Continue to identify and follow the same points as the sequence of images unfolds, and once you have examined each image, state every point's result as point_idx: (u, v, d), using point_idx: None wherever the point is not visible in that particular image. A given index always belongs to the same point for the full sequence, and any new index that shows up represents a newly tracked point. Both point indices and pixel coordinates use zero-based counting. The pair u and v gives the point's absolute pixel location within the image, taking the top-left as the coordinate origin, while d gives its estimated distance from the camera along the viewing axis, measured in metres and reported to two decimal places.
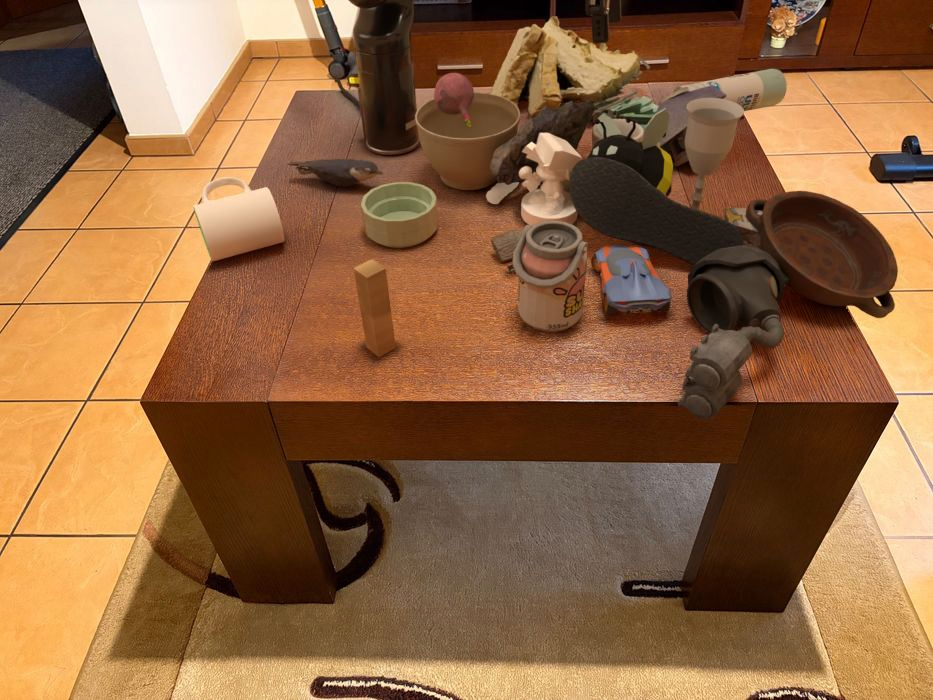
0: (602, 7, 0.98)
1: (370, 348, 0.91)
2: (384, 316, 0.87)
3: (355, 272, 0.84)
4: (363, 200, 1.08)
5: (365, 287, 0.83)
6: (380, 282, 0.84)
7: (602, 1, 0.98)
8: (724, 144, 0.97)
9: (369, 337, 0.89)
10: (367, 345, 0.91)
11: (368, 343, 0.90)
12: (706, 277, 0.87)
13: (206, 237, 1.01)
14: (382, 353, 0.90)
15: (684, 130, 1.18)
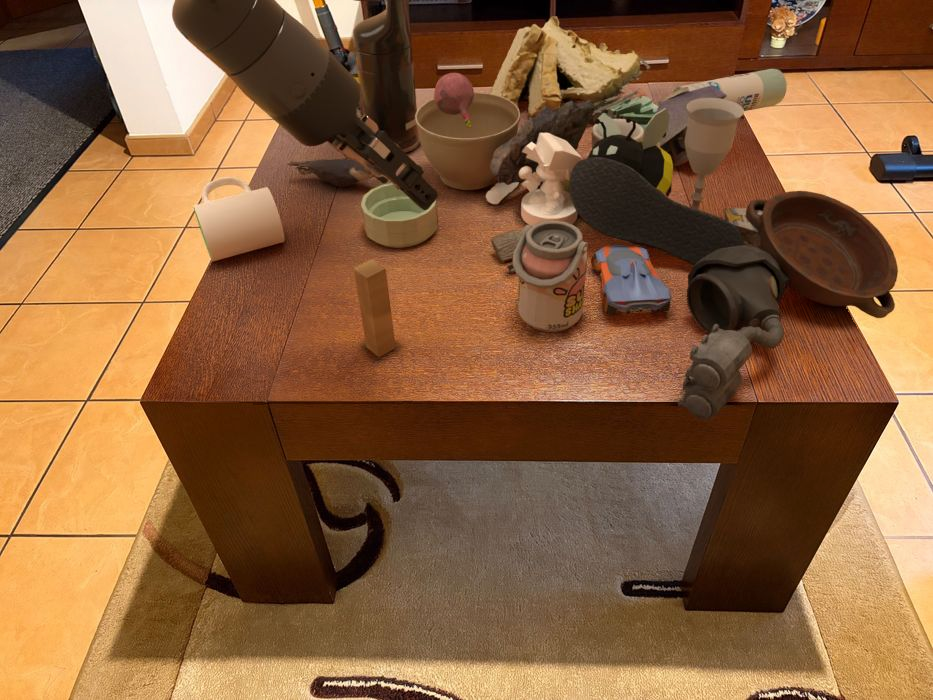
0: None
1: (370, 348, 0.91)
2: (384, 316, 0.87)
3: (355, 272, 0.84)
4: (363, 200, 1.08)
5: (365, 287, 0.83)
6: (380, 282, 0.84)
7: None
8: (724, 144, 0.97)
9: (369, 337, 0.89)
10: (367, 345, 0.91)
11: (368, 343, 0.90)
12: (706, 277, 0.87)
13: (206, 237, 1.01)
14: (382, 353, 0.90)
15: (684, 130, 1.18)
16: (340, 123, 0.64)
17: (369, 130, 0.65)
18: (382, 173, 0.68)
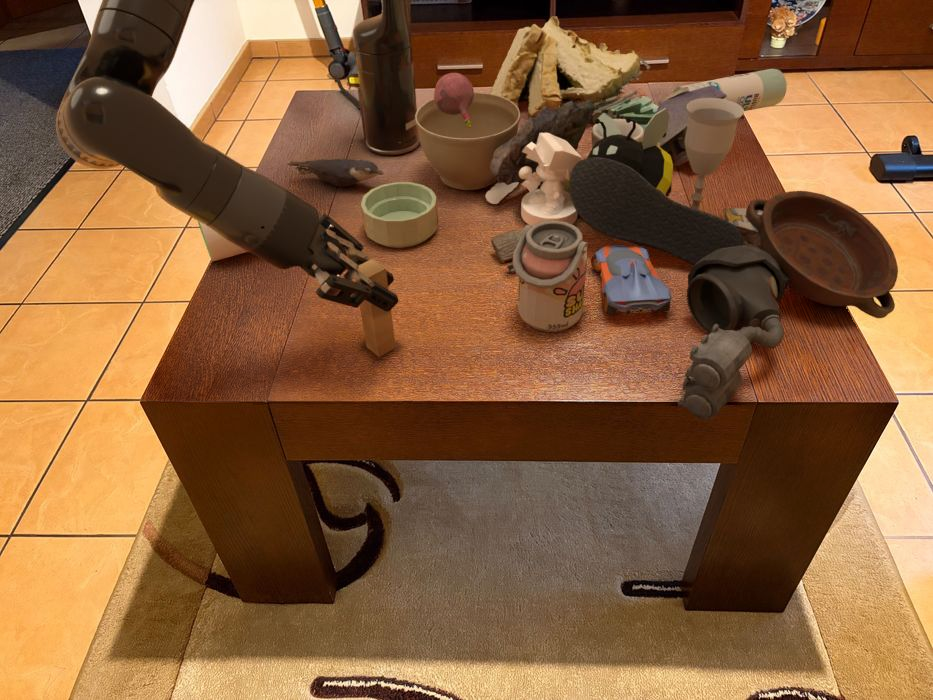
0: None
1: (370, 348, 0.91)
2: (385, 316, 0.87)
3: None
4: (363, 200, 1.08)
5: None
6: (380, 282, 0.84)
7: None
8: (724, 144, 0.97)
9: (370, 337, 0.89)
10: (367, 345, 0.91)
11: (368, 342, 0.90)
12: (706, 277, 0.87)
13: (206, 237, 1.01)
14: (382, 353, 0.90)
15: (684, 130, 1.18)
16: (293, 259, 0.76)
17: (320, 264, 0.77)
18: None
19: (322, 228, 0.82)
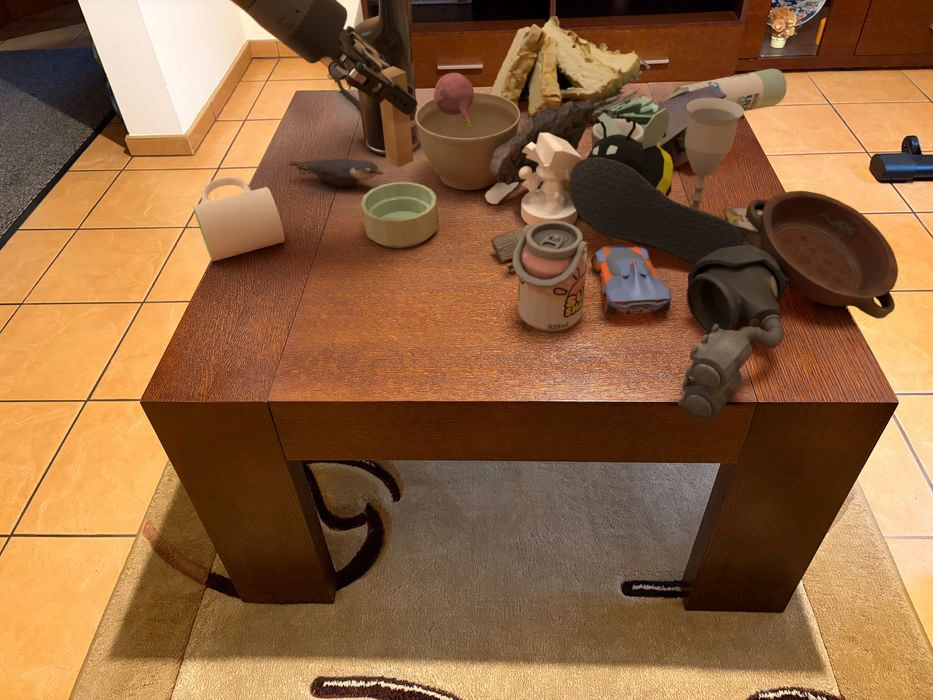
0: None
1: (390, 160, 0.98)
2: (404, 124, 0.95)
3: None
4: (363, 200, 1.08)
5: None
6: (400, 86, 0.92)
7: None
8: (724, 144, 0.97)
9: (390, 147, 0.97)
10: (387, 158, 0.99)
11: (389, 154, 0.98)
12: (706, 277, 0.87)
13: (206, 237, 1.01)
14: (401, 163, 0.98)
15: (684, 130, 1.18)
16: (323, 47, 0.84)
17: (348, 53, 0.85)
18: None
19: (348, 33, 0.90)
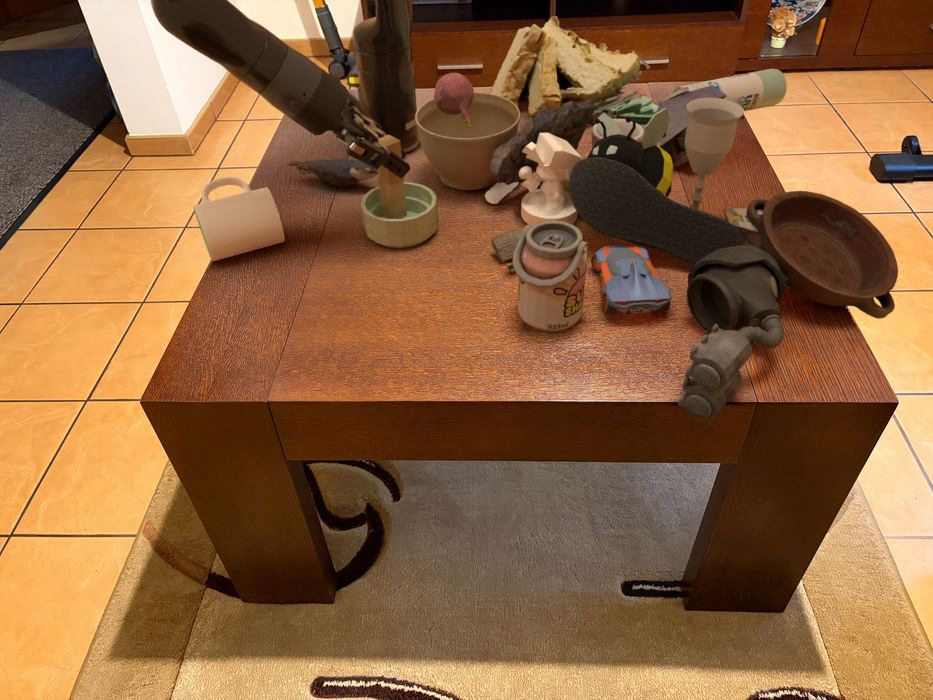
0: None
1: (386, 215, 1.10)
2: (398, 184, 1.06)
3: None
4: (363, 200, 1.08)
5: None
6: (395, 153, 1.03)
7: None
8: (724, 144, 0.97)
9: (386, 204, 1.08)
10: (383, 213, 1.10)
11: (385, 210, 1.09)
12: (706, 277, 0.87)
13: (206, 237, 1.01)
14: (396, 218, 1.09)
15: (684, 130, 1.18)
16: (327, 123, 0.95)
17: (349, 128, 0.96)
18: None
19: (348, 107, 1.01)
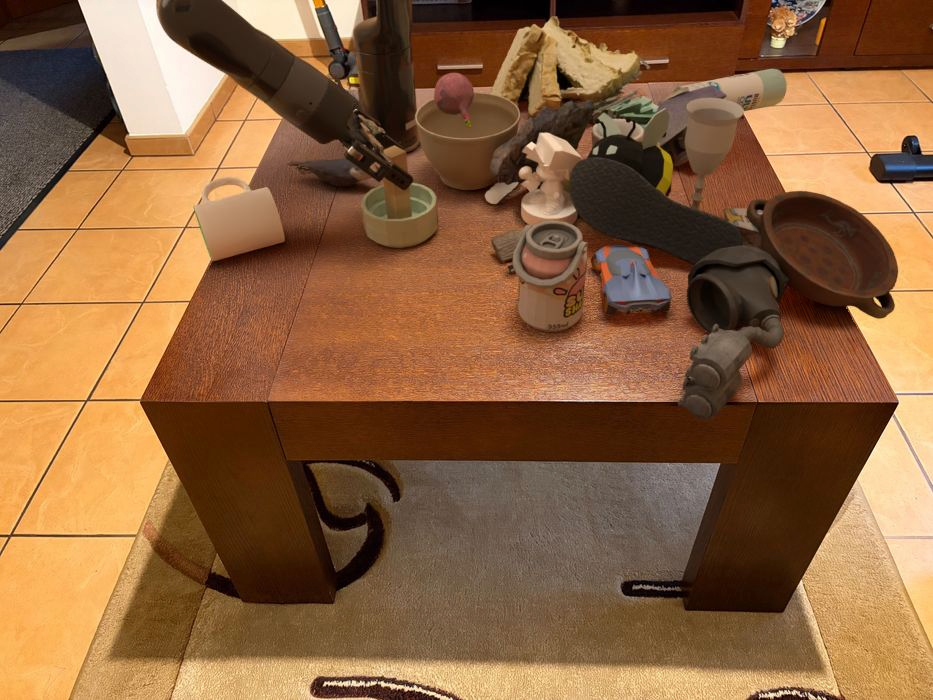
0: None
1: None
2: (404, 195, 1.06)
3: None
4: (363, 200, 1.08)
5: None
6: (401, 164, 1.02)
7: None
8: (724, 144, 0.97)
9: (391, 215, 1.08)
10: None
11: None
12: (706, 277, 0.87)
13: (206, 237, 1.01)
14: None
15: (684, 130, 1.18)
16: (333, 133, 0.95)
17: (355, 137, 0.95)
18: None
19: (354, 114, 1.01)
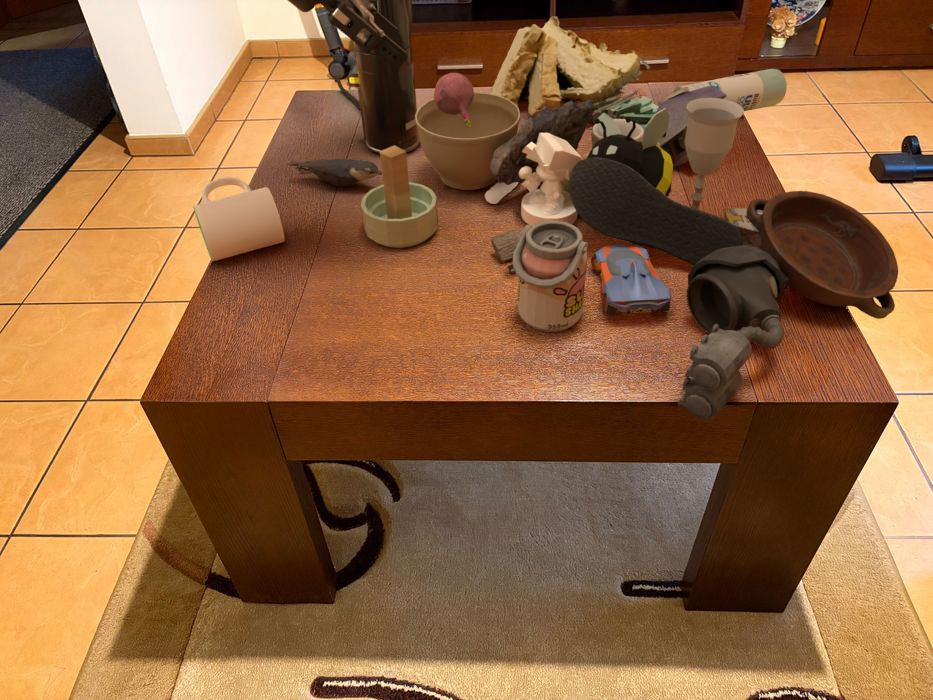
0: None
1: None
2: (404, 195, 1.06)
3: (381, 155, 1.02)
4: (363, 200, 1.08)
5: (389, 167, 1.02)
6: (401, 164, 1.02)
7: None
8: (724, 144, 0.97)
9: (391, 215, 1.08)
10: None
11: None
12: (706, 277, 0.87)
13: (206, 237, 1.01)
14: None
15: (684, 130, 1.18)
16: None
17: (341, 1, 0.85)
18: (356, 36, 0.87)
19: None
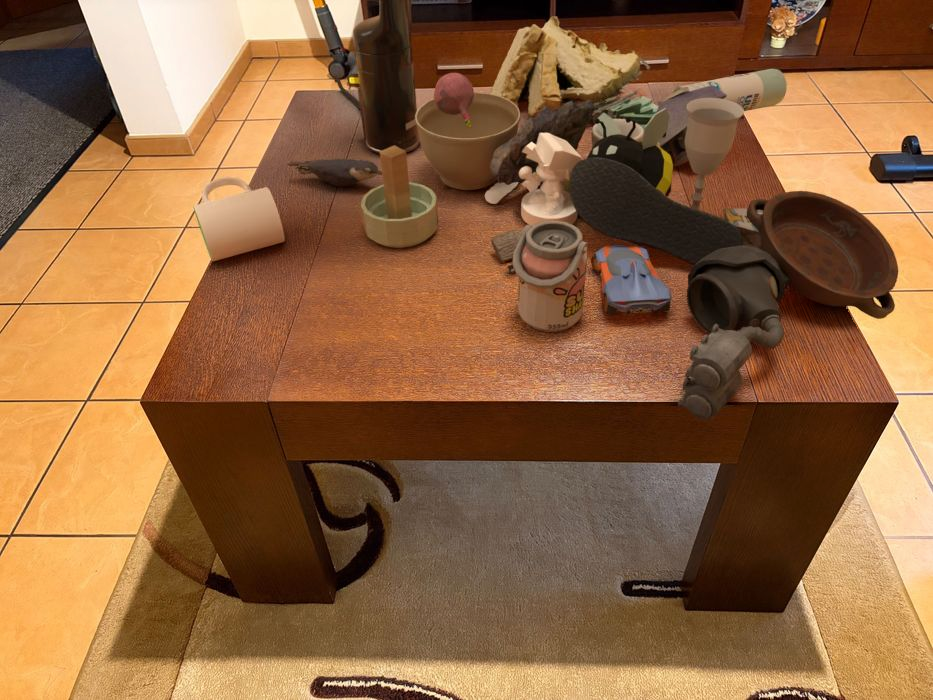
0: None
1: None
2: (404, 195, 1.06)
3: (381, 155, 1.02)
4: (363, 200, 1.08)
5: (389, 167, 1.02)
6: (401, 164, 1.02)
7: None
8: (724, 144, 0.97)
9: (391, 215, 1.08)
10: None
11: None
12: (706, 277, 0.87)
13: (206, 237, 1.01)
14: None
15: (684, 130, 1.18)
16: None
17: None
18: None
19: None
